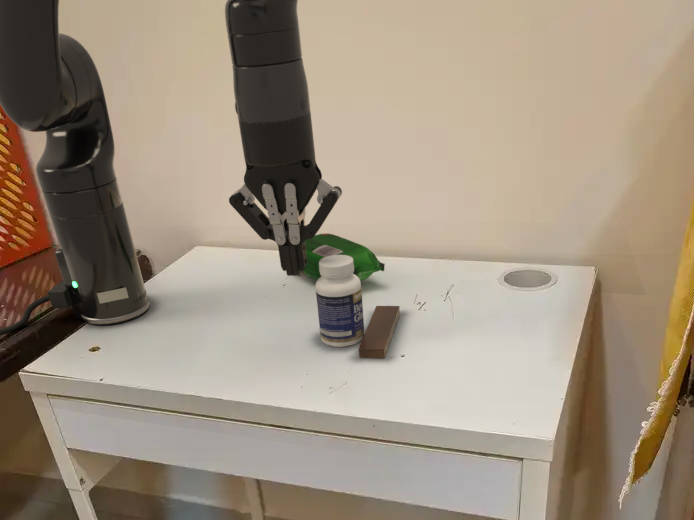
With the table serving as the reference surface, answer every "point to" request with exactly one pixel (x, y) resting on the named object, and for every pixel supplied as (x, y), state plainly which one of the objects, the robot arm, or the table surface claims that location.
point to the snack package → (340, 246)
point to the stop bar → (379, 332)
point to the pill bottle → (339, 302)
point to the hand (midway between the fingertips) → (295, 273)
